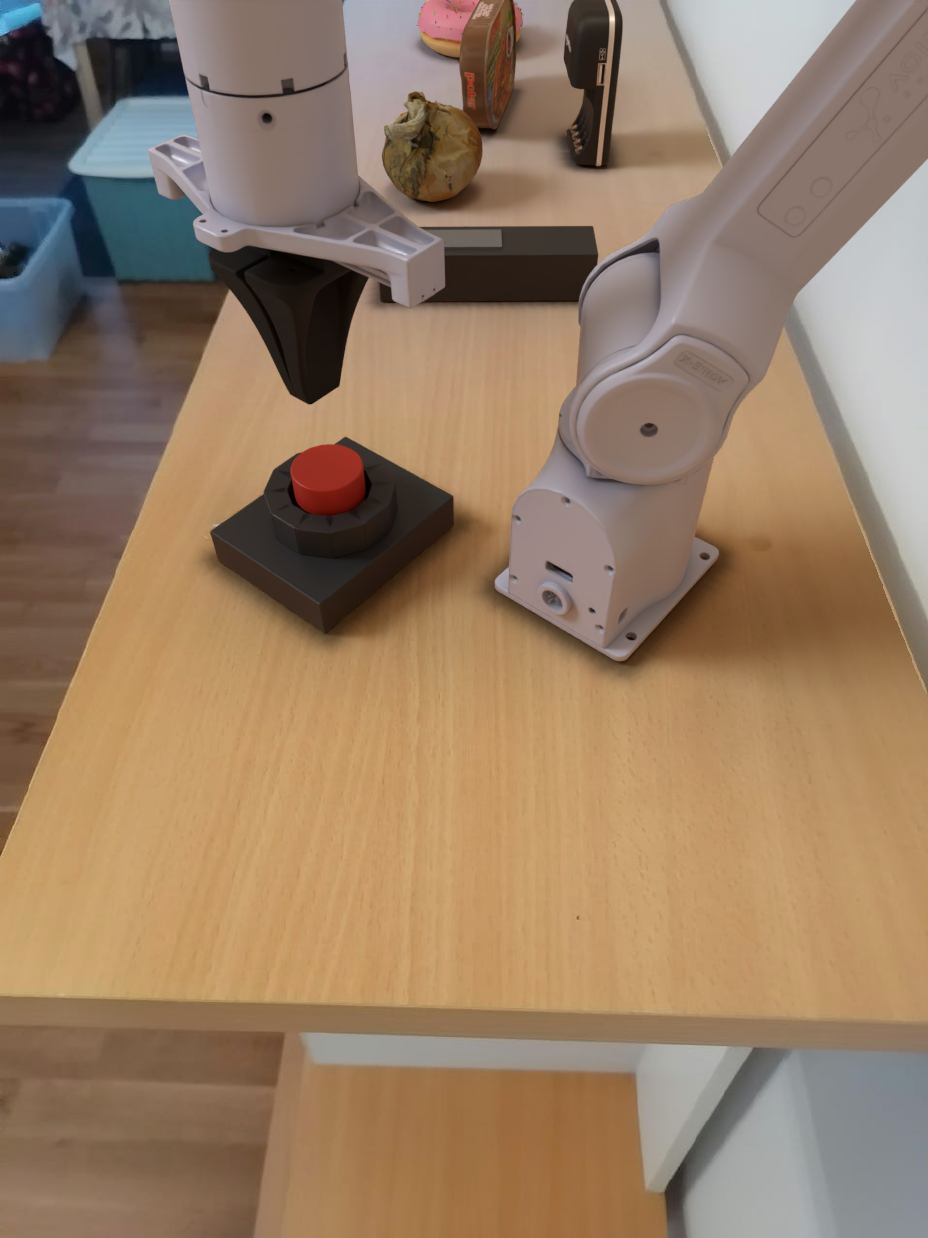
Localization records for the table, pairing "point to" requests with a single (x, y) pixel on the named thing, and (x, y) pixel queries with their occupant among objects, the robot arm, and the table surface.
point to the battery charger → (593, 76)
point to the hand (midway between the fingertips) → (315, 389)
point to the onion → (431, 150)
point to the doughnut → (450, 24)
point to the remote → (513, 263)
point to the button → (328, 480)
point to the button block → (333, 539)
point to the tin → (488, 61)
